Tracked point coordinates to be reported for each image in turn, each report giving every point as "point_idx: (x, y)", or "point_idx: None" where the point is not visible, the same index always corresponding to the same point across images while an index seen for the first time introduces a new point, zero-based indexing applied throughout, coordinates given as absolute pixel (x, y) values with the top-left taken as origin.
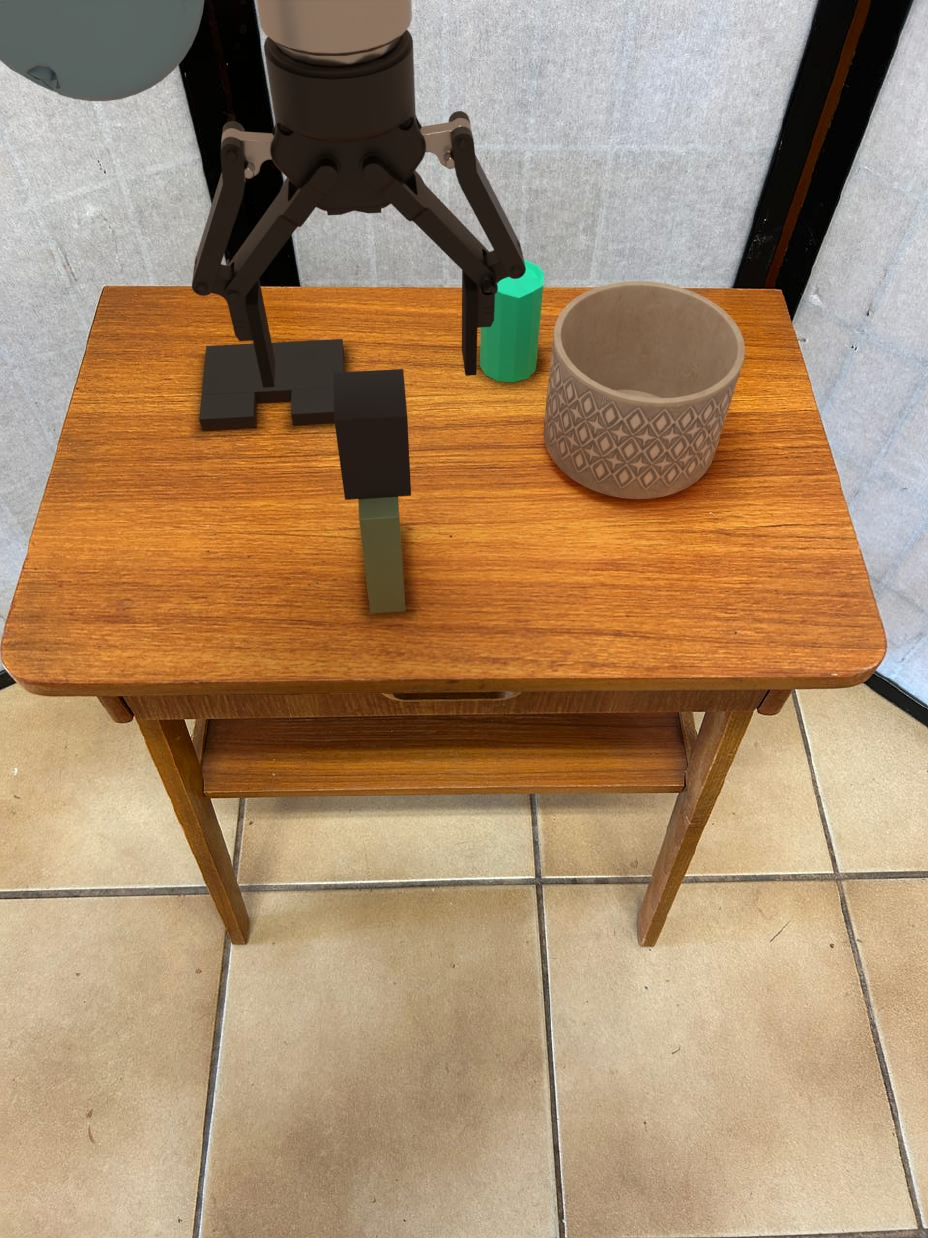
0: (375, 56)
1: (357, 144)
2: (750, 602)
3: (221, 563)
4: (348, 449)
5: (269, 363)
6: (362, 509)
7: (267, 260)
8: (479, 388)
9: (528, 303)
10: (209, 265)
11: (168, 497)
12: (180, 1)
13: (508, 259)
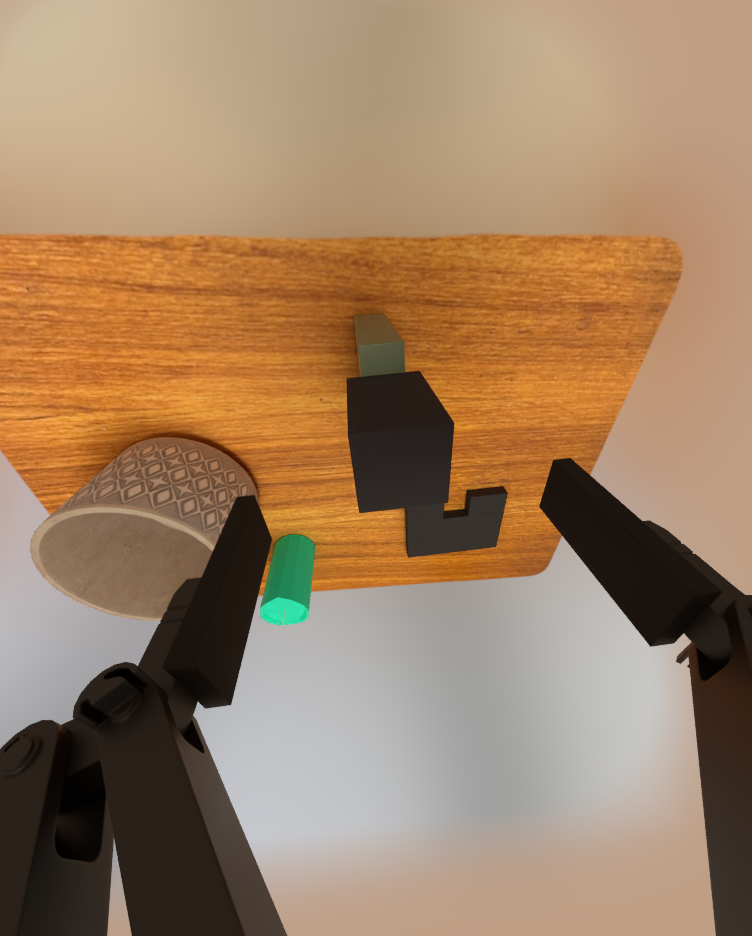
0: None
1: None
2: (27, 329)
3: (503, 368)
4: (426, 400)
5: (582, 488)
6: (400, 356)
7: None
8: (313, 528)
9: (271, 593)
10: None
11: (533, 430)
12: None
13: (16, 804)
